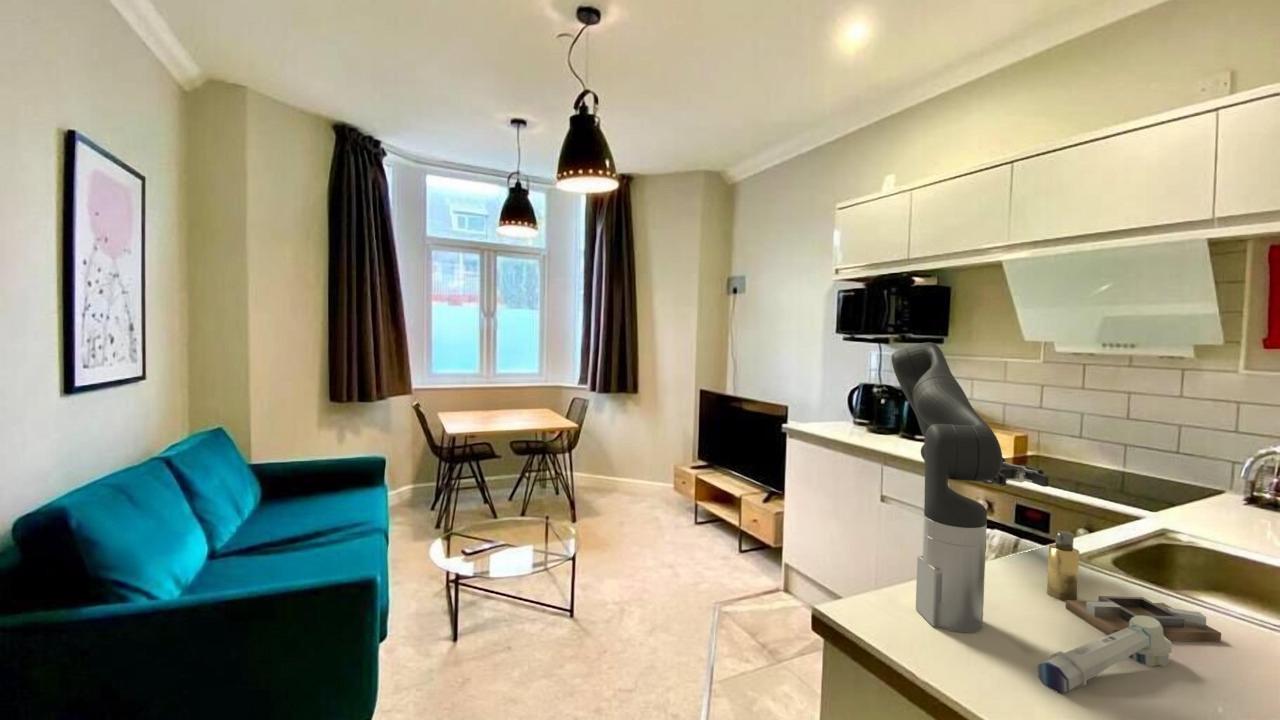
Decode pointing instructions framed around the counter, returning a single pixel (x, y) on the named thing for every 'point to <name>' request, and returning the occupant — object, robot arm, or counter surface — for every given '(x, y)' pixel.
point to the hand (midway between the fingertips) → (1025, 481)
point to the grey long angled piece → (1106, 654)
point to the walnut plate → (1116, 624)
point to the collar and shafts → (1166, 617)
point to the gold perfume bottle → (1063, 568)
